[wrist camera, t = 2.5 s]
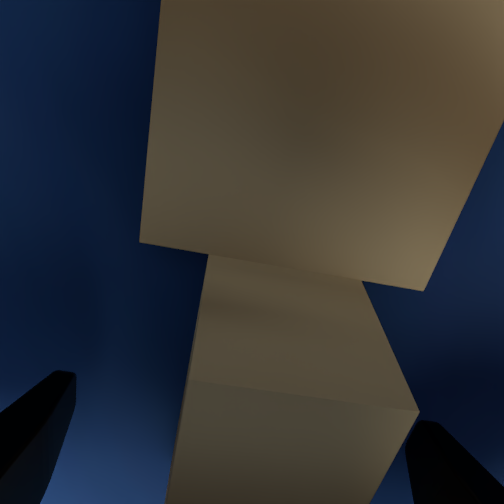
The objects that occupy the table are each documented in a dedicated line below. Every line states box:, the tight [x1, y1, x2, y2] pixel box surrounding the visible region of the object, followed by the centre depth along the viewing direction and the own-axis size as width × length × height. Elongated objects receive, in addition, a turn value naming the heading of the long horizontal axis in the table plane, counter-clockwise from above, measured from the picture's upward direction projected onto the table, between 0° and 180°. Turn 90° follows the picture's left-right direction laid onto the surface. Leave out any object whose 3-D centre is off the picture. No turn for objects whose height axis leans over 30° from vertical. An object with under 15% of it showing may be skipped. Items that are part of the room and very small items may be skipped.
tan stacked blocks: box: [139, 0, 504, 504], centre depth 7 cm, size 14×6×4 cm, turn 168°
